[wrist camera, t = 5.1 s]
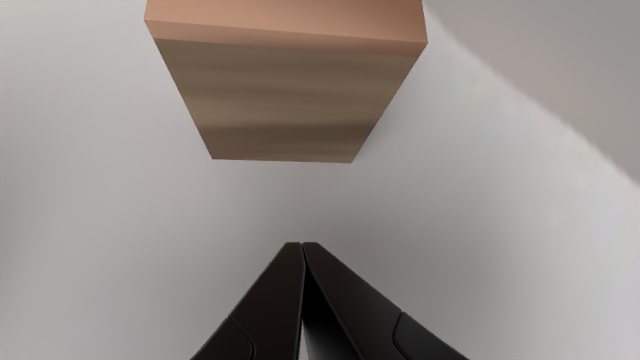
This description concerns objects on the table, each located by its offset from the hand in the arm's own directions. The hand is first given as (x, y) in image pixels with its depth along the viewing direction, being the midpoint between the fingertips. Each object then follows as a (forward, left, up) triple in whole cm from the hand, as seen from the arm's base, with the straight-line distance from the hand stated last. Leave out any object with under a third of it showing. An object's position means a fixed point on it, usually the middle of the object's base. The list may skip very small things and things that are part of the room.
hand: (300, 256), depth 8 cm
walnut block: (+7, -3, -7) cm, 10 cm away
